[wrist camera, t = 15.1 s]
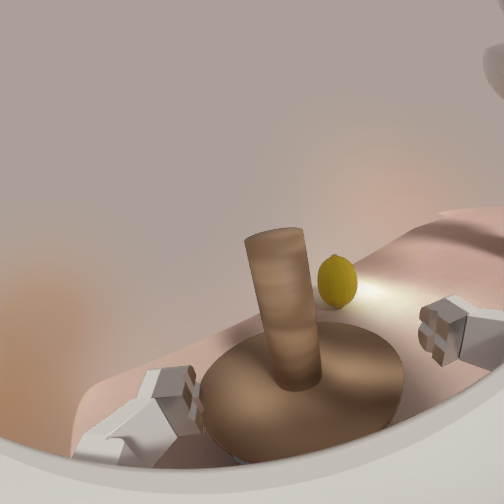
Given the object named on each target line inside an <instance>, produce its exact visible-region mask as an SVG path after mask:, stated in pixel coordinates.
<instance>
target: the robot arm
mask: <svg viewBox="0 0 504 504" xmlns="http://www.w3.org/2000/svg"><path fill="white" fill-rule="evenodd" d="M498 2H499V5H500V7H501V9H502V11H503V12H504V0H498ZM483 68H484V72H485V75H486V78H487V80H488V82H489V84H490V85H491V87H492V88H493V90H494V91H495V92H496V93H497V94H498V95H499V96H500V97H501V98H503V99H504V43H502V44H498V45H495V46H492V47H489V48H487V49H486V50H485V53H484V57H483ZM419 318H420V320H421V321H422V323H421V325H420V327H419V330H418V338H419V342H420V344H421V346H422V348H423V349H424V350H425V351H427V352H431V353H432V358H433V359H434V360H435V361H436V362H437V363H438V364H439V365H440V366H441V367H443V366H445V365H447V364H449V363H451V362H453V361H455V360H457V359H459V360H461V361H464V362H467V363H469V364H472V365H475V366H478V367H481V368H483V369H486V370H489V371H491V372H490V373H488V374H487V375H486V376H484V377H483V378H481V379H480V380H478V381H477V382H475V383H473V384H472V385H470V386H469V387H467V388H465V389H464V390H462V391H461V392H459V393H457V394H455V395H454V396H452V397H450V398H448V399H447V400H445V401H443V402H441V403H439V404H437V405H435V406H434V407H432V408H430V409H428V410H426V411H424V412H422V413H420V414H418V415H415V416H413V417H411V418H409V419H407V420H404V421H402V422H400V423H398V424H395V425H393V426H390V427H388V428H386V429H383V430H381V431H378V432H375V433H373V434H370V435H367V436H364V437H362V438H359V439H356V440H353V441H350V442H346V443H343V444H340V445H337V446H333V447H330V448H326V449H323V450H319V451H315V452H311V453H307V454H302V455H298V456H293V457H289V458H284V459H278V460H273V461H267V462H261V463H254V464H246V465H238V466H228V467H216V468H197V469H158V468H152V467H153V466H154V465H155V463H156V462H157V461H158V460H159V459H160V458H161V456H162V455H163V454H164V453H165V452H166V451H167V449H168V448H169V447H170V446H171V445H172V443H173V442H174V441H175V440H176V439H177V436H185V435H197V434H202V428H203V418H202V416H201V413H202V412H203V411H204V409H205V400H204V394H203V391H202V388H201V385H200V384H198V383H197V382H195V379H196V373H195V371H194V369H193V367H192V366H191V365H188V366H179V367H168V368H158V369H150V370H148V371H147V373H146V375H145V378H144V380H143V383H142V385H141V387H140V390H139V392H138V395H137V397H136V399H131V400H130V401H129V402H127V403H126V404H125V405H123V406H122V407H121V408H119V409H118V410H116V411H115V412H114V413H112V414H111V415H110V416H108V417H107V418H105V419H104V420H103V421H101V422H100V423H98V424H97V425H96V426H94V427H93V428H91V429H90V430H89V431H87V432H86V433H84V434H83V436H82V438H81V440H80V442H79V444H78V446H77V448H76V450H75V452H74V454H73V457H72V458H69V457H65V456H61V455H56V454H52V453H49V452H45V451H41V450H37V449H34V448H31V447H28V446H25V445H22V444H19V443H16V442H13V441H11V440H8V439H6V438H3V437H0V504H504V311H501V310H492V309H484V308H481V309H478V308H476V307H474V306H473V305H471V304H469V303H468V302H466V301H464V300H463V299H461V298H459V297H458V296H456V295H449V296H447V297H445V298H443V299H441V300H439V301H437V302H434V303H432V304H429V305H427V306H424V307H422V308H421V311H420V317H419Z"/></svg>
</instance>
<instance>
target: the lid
mask: <svg viewBox="0 0 504 504" xmlns="http://www.w3.org/2000/svg"><path fill="white" fill-rule="evenodd" d="M244 242H245V247H246V251H247V256H248V260H249V265H250V269H251V274H252V278H253V283H254V287H255V292H256V296H257V300H258V305H259V309H260V314H261V319H262V323H263V328H264V333H261V334H258V335H256V336H253V337H251V338H249V339H247V340H245V341H243V342H241V343H239V344H238V345H236V346H234V347H233V348H231V349H230V350H228V351H227V352H226V353H224V354H223V355H222V356H221V357H219V358H218V359H217V360H216V361H215V362H214V363H213V364H212V366H211V367H210V368H209V369H208V371H207V372H206V374H205V375H204V377H203V379H202V381H201V384H200V385H201V388H202V391H203V394H204V400H205V409H204V411H203V412H202V413H201V416H202V418H203V424H204V426H205V428H206V430H207V431H208V433H209V435H210V436H211V438H212V439H213V440H214V441H215V442H216V443H217V444H218V445H219V446H220V447H221V448H222V449H224V450H225V451H226V452H228V453H229V454H231V455H233V456H235V457H236V458H238V459H240V460H242V461H245V462H248V463H251V464H254V463H261V462H267V461H273V460H278V459H284V458H289V457H293V456H298V455H302V454H307V453H311V452H315V451H319V450H323V449H326V448H330V447H333V446H337V445H340V444H343V443H346V442H350V441H353V440H356V439H359V438H362V437H364V436H367V435H370V434H373V433H375V432H378V431H381V430H383V429H385V428H386V426H387V425H388V424H389V423H390V421H391V420H392V418H393V416H394V414H395V413H396V411H397V409H398V406H399V403H400V400H401V395H402V389H403V383H404V370H403V366H402V363H401V360H400V358H399V356H398V354H397V352H396V351H395V350H394V348H393V347H392V346H391V345H390V344H389V343H388V342H387V341H386V340H384V339H383V338H381V337H380V336H378V335H376V334H375V333H373V332H371V331H368V330H366V329H363V328H360V327H356V326H352V325H347V324H341V323H329V322H317V321H316V314H315V306H314V299H313V291H312V285H311V278H310V271H309V265H308V258H307V252H306V246H305V240H304V234H303V229H301V228H294V227H292V228H291V227H290V228H280V229H273V230H269V231H264V232H261V233H258V234H255V235H252V236H250V237H248V238H246V239H245V241H244Z"/></svg>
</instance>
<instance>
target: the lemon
mask: <svg viewBox="0 0 504 504" xmlns="http://www.w3.org/2000/svg"><path fill="white" fill-rule="evenodd" d="M318 289H319V293H320V295H321V297H322V298H323V300H324V301H325V302H326V303H328V304H329V305H332V306H336V307H337V308H342V307H343V306H344V305H346V304H348V303H349V302H350V301H351V300H352V299H353V298H354V296H355V294H356V291H357V276H356V272H355V269H354V267H353V265H352V264H351V263H350V262H349V261H348V260H347V259H345V258H343V257H339V256H337V255H335V254H334V255H332V256H331V257H330V258H329V259H327V260H326V261H324V262H323V263H322V265H321V266H320V268H319V271H318Z"/></svg>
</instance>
